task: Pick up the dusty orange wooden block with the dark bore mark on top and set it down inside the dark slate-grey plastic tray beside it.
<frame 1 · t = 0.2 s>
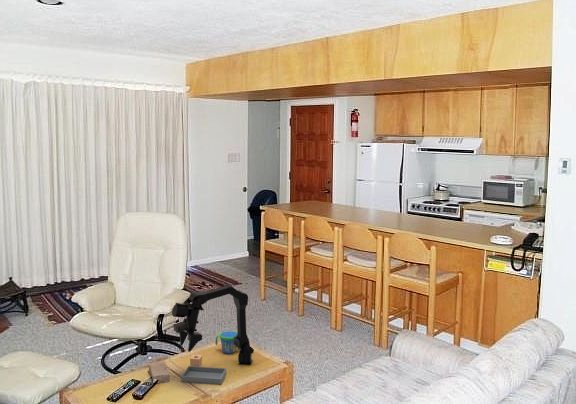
hand: (185, 348, 262), 15 cm above the table, tool pointing down, fingers open, 9 cm apart
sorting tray: (204, 377, 263), on the table
snack cup: (229, 351, 296), on the table
bored block: (196, 366, 277), on the table
brick: (159, 376, 265), on the table
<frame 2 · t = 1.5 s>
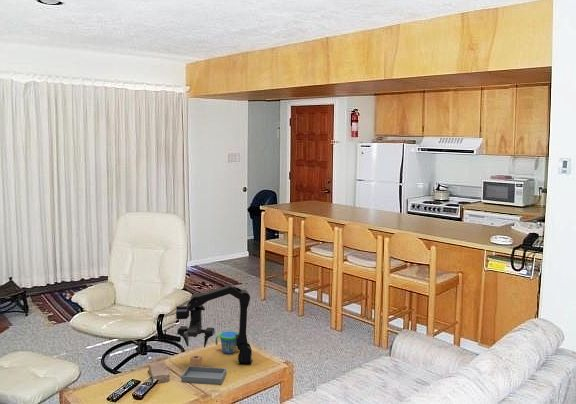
hand: (196, 346, 276), 11 cm above the table, tool pointing down, fingers open, 9 cm apart
nothing on the table moved.
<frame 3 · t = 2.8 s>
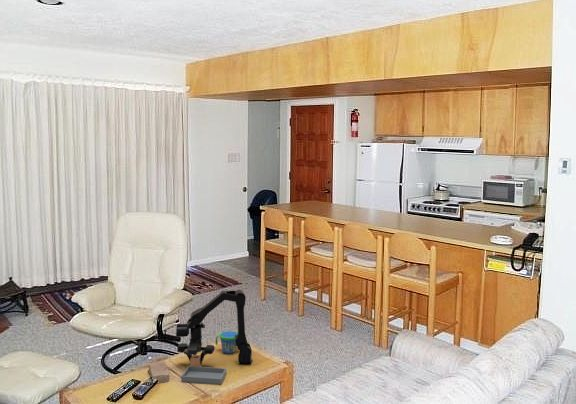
hand: (196, 364, 277), 1 cm above the table, tool pointing down, fingers closed on bored block, 5 cm apart
bored block: (196, 365, 277), on the table, touching gripper
everything else where it was.
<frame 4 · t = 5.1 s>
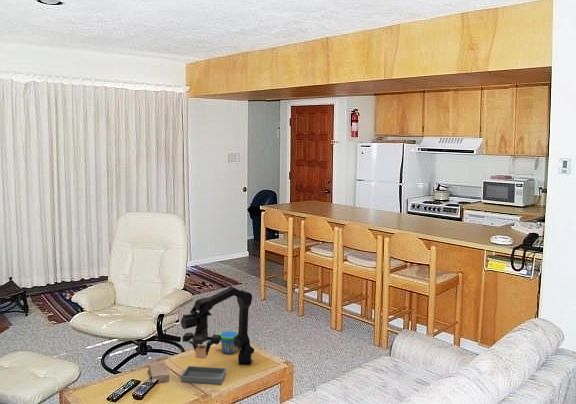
hand: (201, 354, 265), 11 cm above the table, tool pointing down, fingers closed on bored block, 5 cm apart
bored block: (201, 356, 265), point 10 cm above the table, touching gripper
everything else where it was.
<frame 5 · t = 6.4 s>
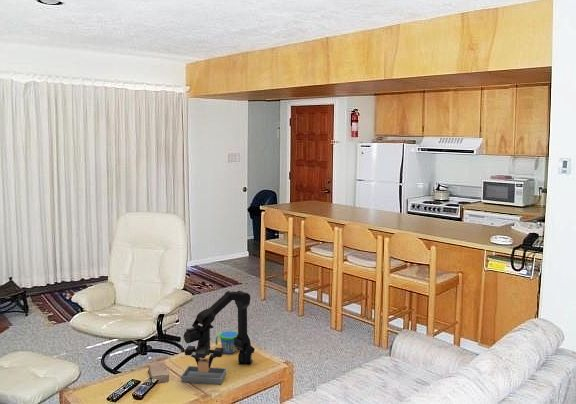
hand: (204, 367, 263), 5 cm above the table, tool pointing down, fingers closed on bored block, 5 cm apart
bored block: (204, 369, 263), point 4 cm above the table, touching gripper
everything else where it was.
when the fingers open (3 cm above the table, at t = 7.3 s): bored block drops 1 cm, resting on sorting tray.
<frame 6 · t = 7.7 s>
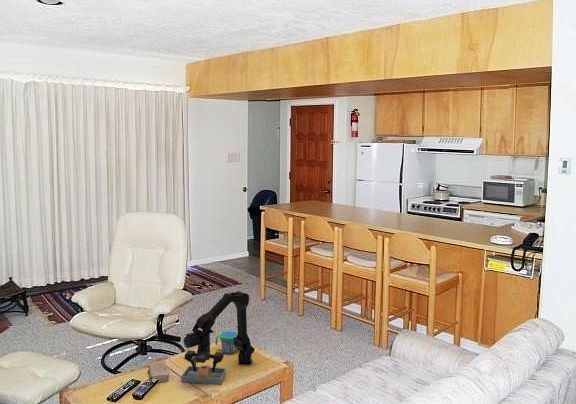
hand: (204, 372, 263), 3 cm above the table, tool pointing down, fingers open, 9 cm apart
bored block: (204, 376, 263), point 1 cm above the table, touching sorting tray
everything else where it was.
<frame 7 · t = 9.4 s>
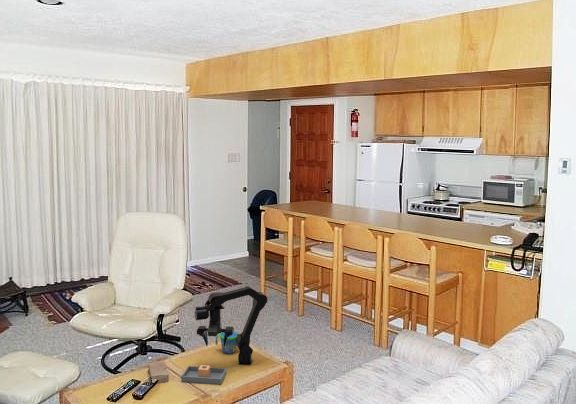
hand: (215, 346, 275), 11 cm above the table, tool pointing down, fingers open, 9 cm apart
nothing on the table moved.
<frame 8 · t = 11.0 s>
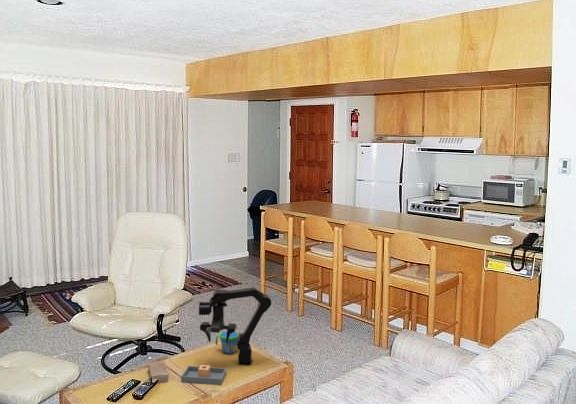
hand: (218, 342, 278), 12 cm above the table, tool pointing down, fingers open, 9 cm apart
nothing on the table moved.
at the end: bored block inside the target area on the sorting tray (0.0 cm from its centre), point 0.6 cm above the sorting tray's base; bored block tilted 0°; the gripper is holding nothing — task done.
